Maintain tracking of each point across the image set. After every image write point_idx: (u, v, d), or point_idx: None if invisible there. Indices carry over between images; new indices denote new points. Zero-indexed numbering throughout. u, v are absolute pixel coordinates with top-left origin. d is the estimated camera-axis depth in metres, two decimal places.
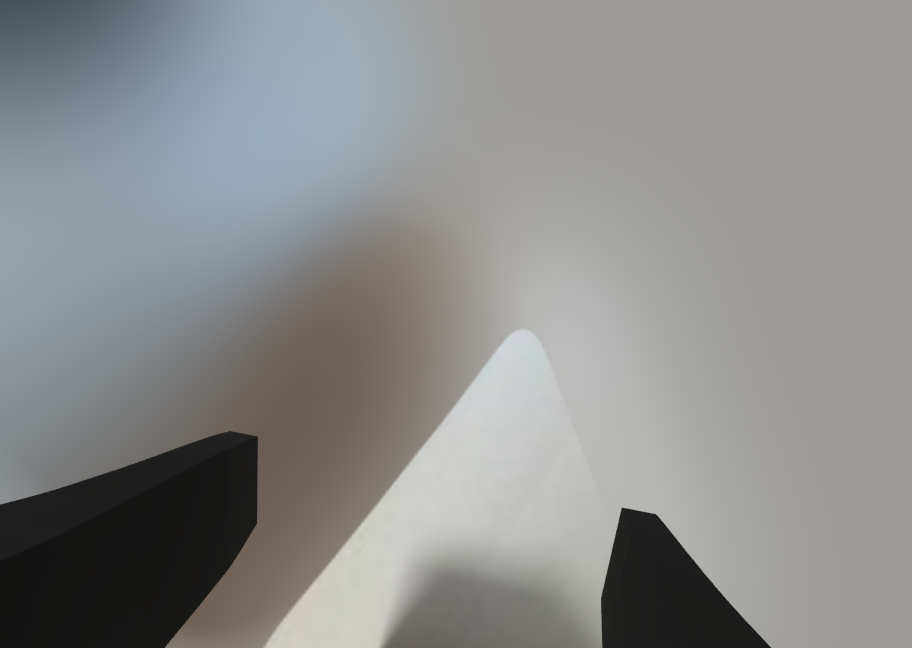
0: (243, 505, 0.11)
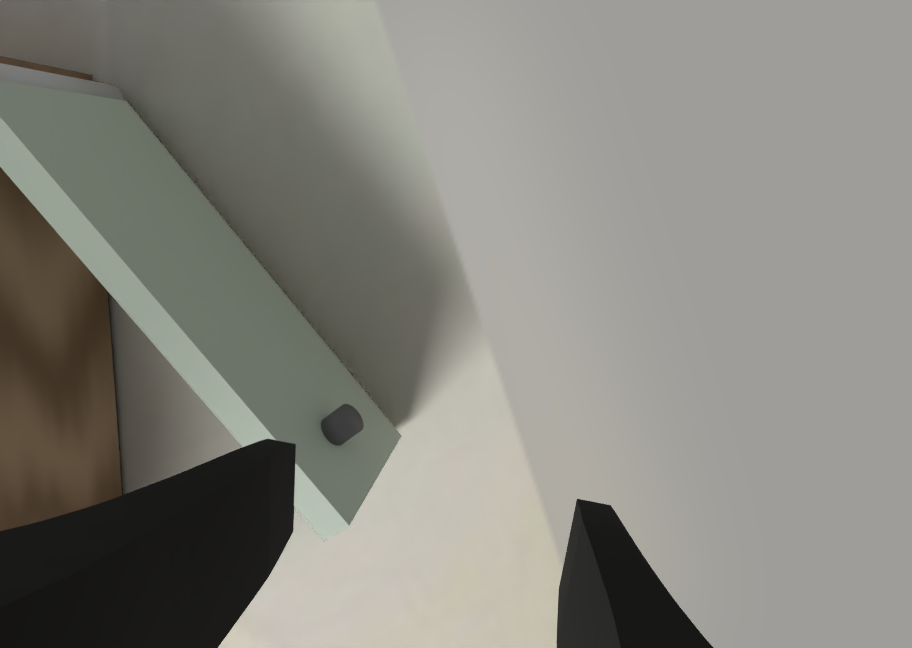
0: (282, 513, 0.11)
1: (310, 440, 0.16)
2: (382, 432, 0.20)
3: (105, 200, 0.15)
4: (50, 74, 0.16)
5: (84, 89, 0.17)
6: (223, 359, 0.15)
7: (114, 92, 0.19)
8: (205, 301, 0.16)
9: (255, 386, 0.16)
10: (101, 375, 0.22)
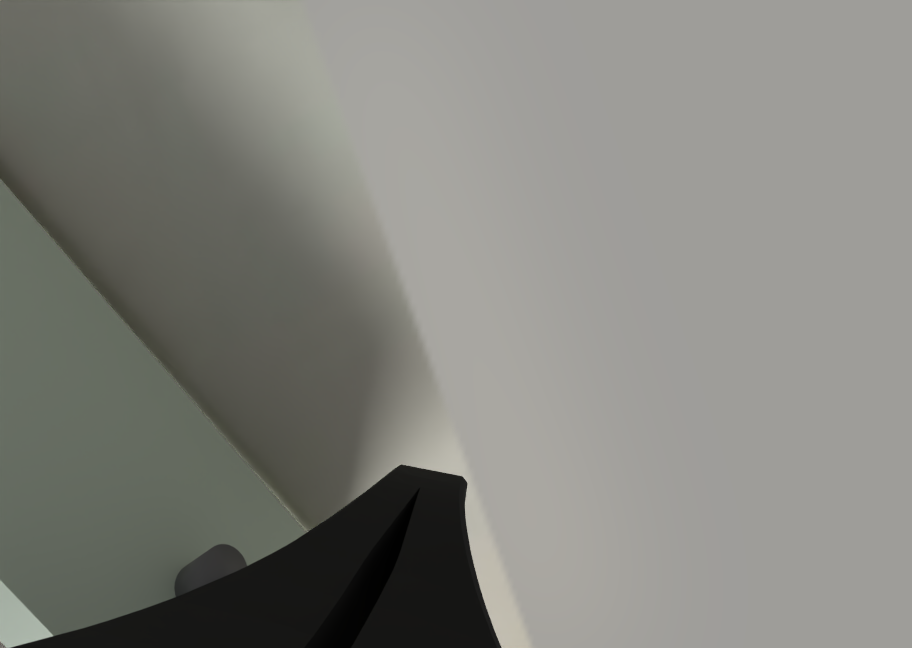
0: None
1: None
2: None
3: None
4: None
5: None
6: None
7: None
8: None
9: (42, 539, 0.09)
10: None
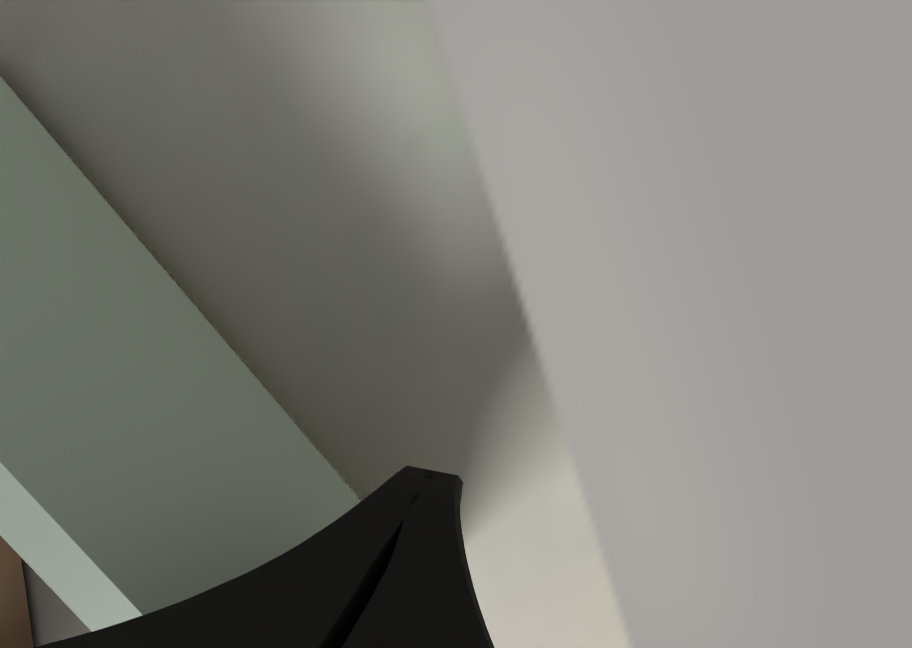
0: None
1: None
2: None
3: None
4: None
5: None
6: (122, 540, 0.08)
7: None
8: (99, 421, 0.09)
9: (185, 580, 0.09)
10: None
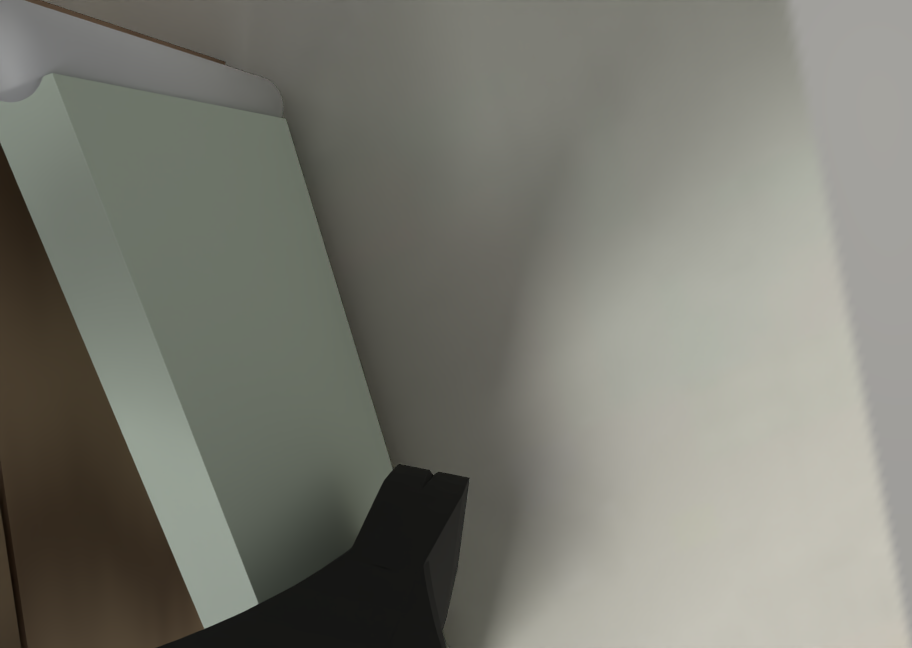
0: (457, 551, 0.10)
1: None
2: None
3: (230, 376, 0.08)
4: (199, 66, 0.09)
5: (239, 99, 0.10)
6: None
7: (275, 102, 0.11)
8: None
9: None
10: None
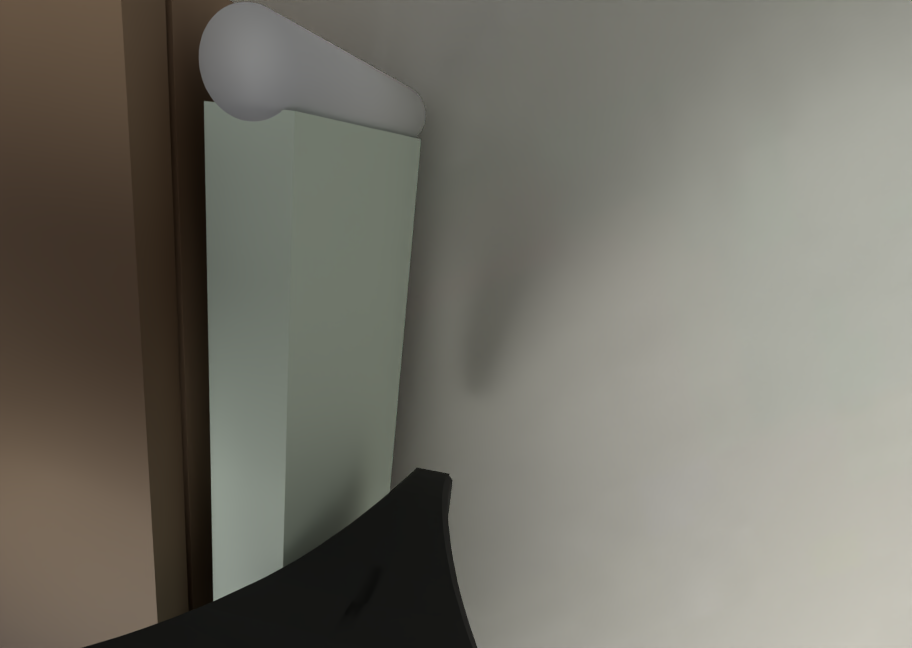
0: None
1: None
2: None
3: (321, 420, 0.08)
4: (385, 90, 0.08)
5: (400, 122, 0.09)
6: None
7: (420, 123, 0.10)
8: None
9: None
10: None
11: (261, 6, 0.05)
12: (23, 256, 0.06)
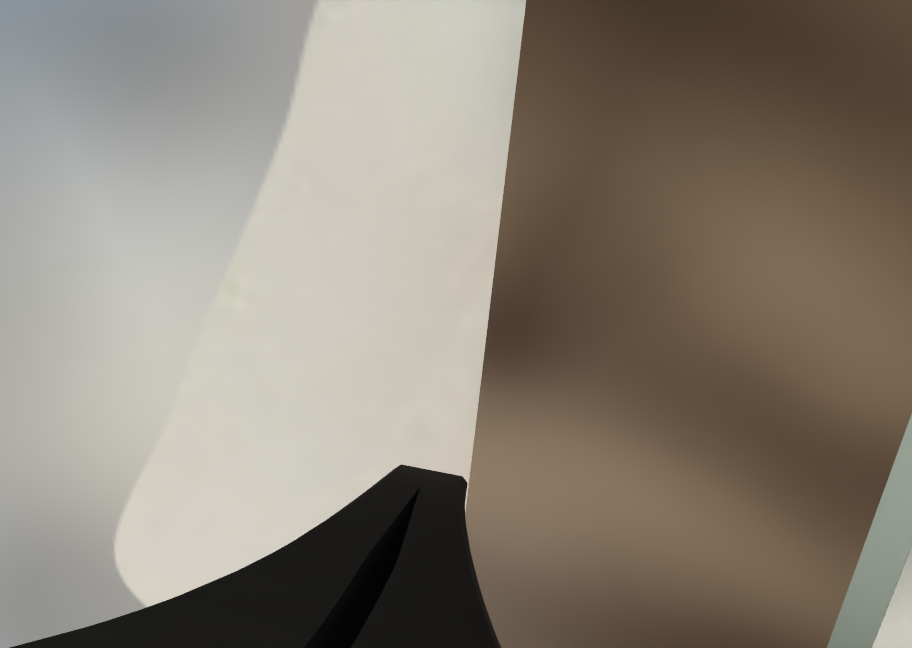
0: None
1: None
2: None
3: None
4: None
5: None
6: None
7: None
8: None
9: None
10: None
11: None
12: None
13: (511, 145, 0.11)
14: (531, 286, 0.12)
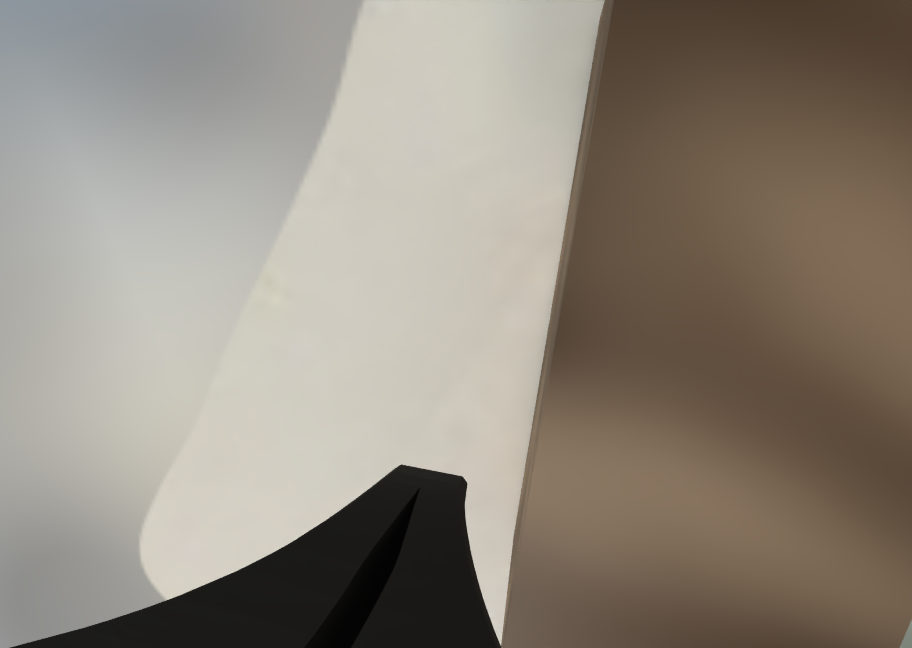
0: None
1: None
2: None
3: None
4: None
5: None
6: None
7: None
8: None
9: None
10: None
11: None
12: None
13: (592, 139, 0.11)
14: (606, 284, 0.12)
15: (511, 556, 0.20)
